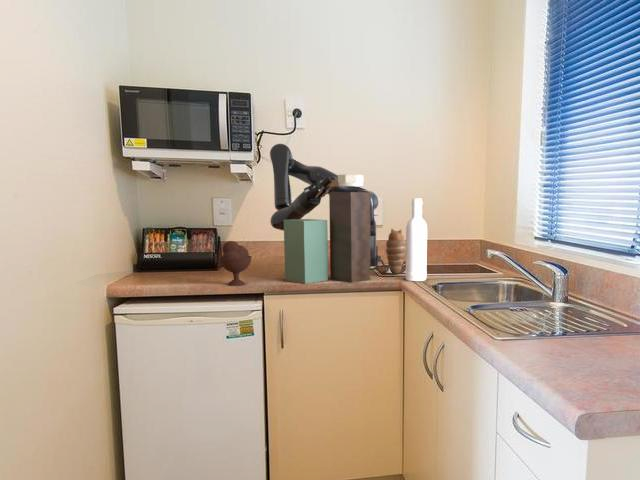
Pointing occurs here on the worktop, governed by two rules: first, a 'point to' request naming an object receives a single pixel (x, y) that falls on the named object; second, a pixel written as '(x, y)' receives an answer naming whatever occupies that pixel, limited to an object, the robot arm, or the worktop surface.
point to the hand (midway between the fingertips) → (332, 179)
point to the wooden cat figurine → (395, 250)
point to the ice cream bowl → (235, 260)
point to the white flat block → (347, 181)
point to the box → (306, 250)
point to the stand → (349, 236)
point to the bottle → (416, 244)
